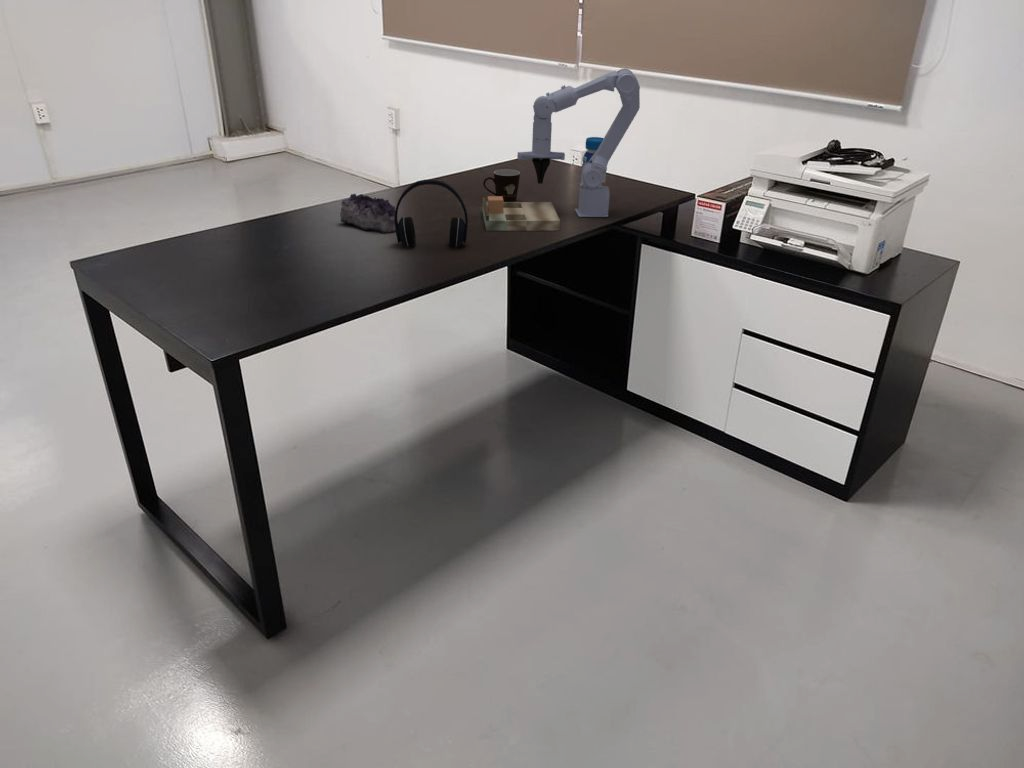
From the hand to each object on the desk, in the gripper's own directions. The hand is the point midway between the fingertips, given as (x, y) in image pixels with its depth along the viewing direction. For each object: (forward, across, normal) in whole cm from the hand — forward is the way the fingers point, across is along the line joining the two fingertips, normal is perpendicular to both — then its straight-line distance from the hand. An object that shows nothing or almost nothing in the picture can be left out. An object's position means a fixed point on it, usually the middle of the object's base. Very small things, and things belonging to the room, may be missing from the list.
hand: (539, 182), depth 242 cm
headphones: (+10, +34, +32) cm, 48 cm away
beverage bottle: (+10, -20, -15) cm, 27 cm away
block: (+6, +15, +9) cm, 18 cm away
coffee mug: (+10, +11, -11) cm, 18 cm away
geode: (+10, +52, +13) cm, 54 cm away
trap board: (+9, +7, +9) cm, 15 cm away
